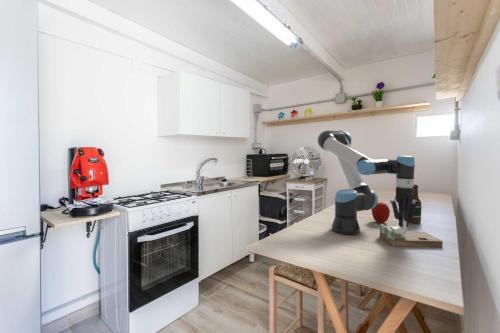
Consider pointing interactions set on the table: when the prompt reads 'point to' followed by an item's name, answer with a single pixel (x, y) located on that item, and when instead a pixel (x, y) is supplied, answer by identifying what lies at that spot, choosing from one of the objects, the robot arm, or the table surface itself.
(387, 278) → the table surface
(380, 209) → the apple
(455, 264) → the table surface
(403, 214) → the robot arm
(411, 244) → the board
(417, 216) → the beer bottle
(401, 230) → the ivory block
